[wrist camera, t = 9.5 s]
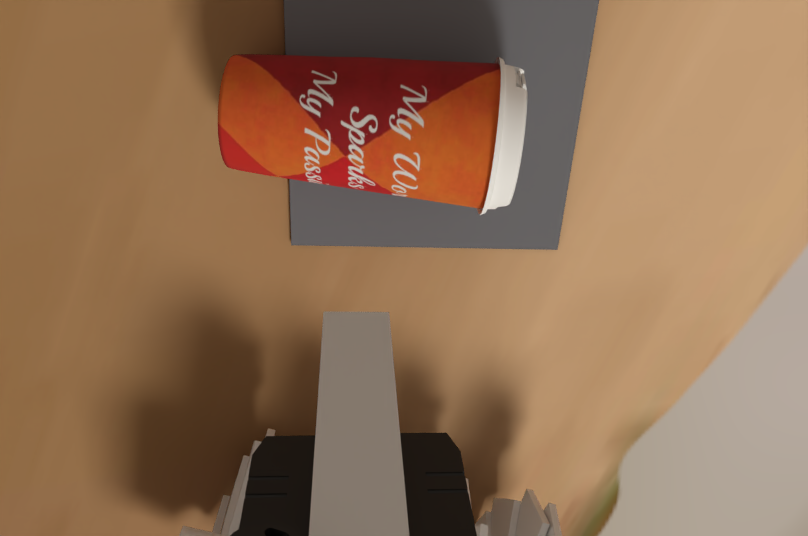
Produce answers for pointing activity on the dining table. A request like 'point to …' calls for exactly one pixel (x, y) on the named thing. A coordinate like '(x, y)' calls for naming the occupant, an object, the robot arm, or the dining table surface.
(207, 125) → the dining table surface
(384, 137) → the paper cup
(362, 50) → the mat
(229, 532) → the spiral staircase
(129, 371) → the dining table surface
